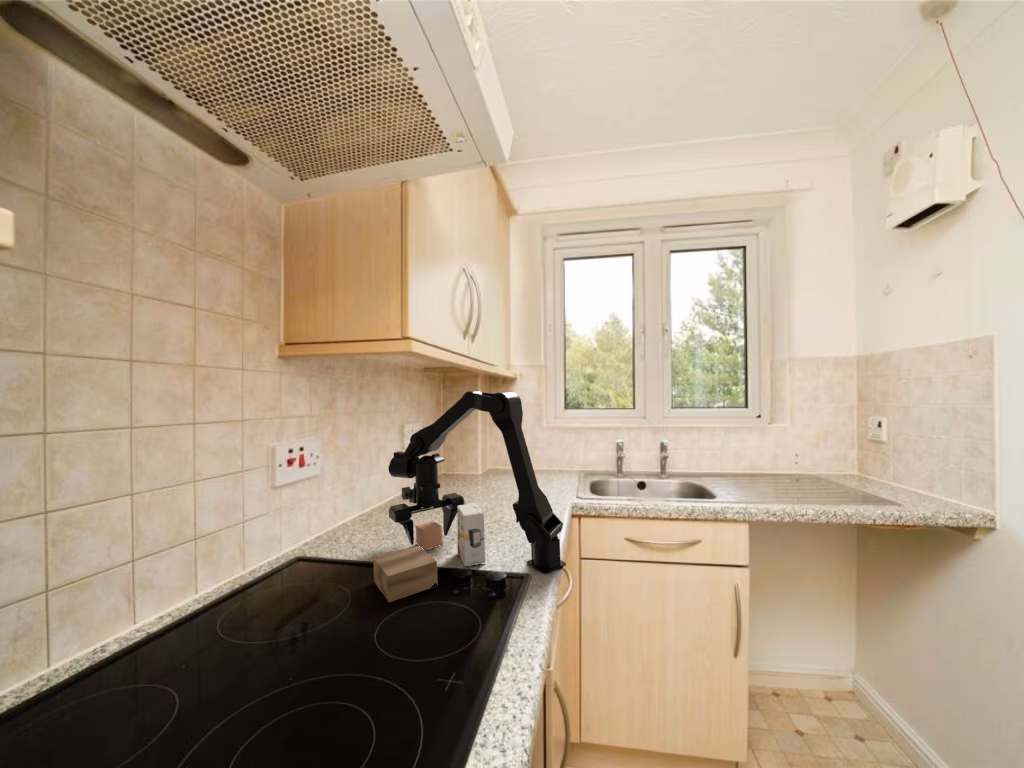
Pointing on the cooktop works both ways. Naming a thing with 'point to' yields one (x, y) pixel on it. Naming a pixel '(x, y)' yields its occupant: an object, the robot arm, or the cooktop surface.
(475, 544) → the ink box
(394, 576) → the walnut block
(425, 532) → the terracotta cube
